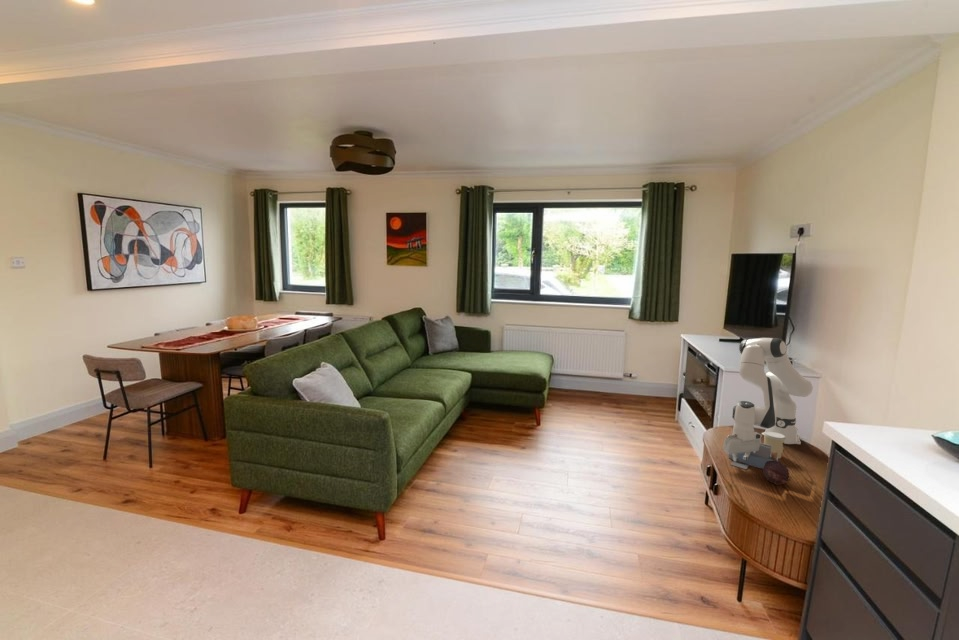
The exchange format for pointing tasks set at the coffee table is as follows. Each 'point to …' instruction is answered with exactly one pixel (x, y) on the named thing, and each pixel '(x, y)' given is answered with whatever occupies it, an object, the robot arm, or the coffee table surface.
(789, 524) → the coffee table surface
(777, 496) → the coffee table surface
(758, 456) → the plane body
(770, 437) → the coffee cup
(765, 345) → the robot arm
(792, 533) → the coffee table surface
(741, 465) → the mat
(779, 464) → the pine cone
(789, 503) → the coffee table surface
